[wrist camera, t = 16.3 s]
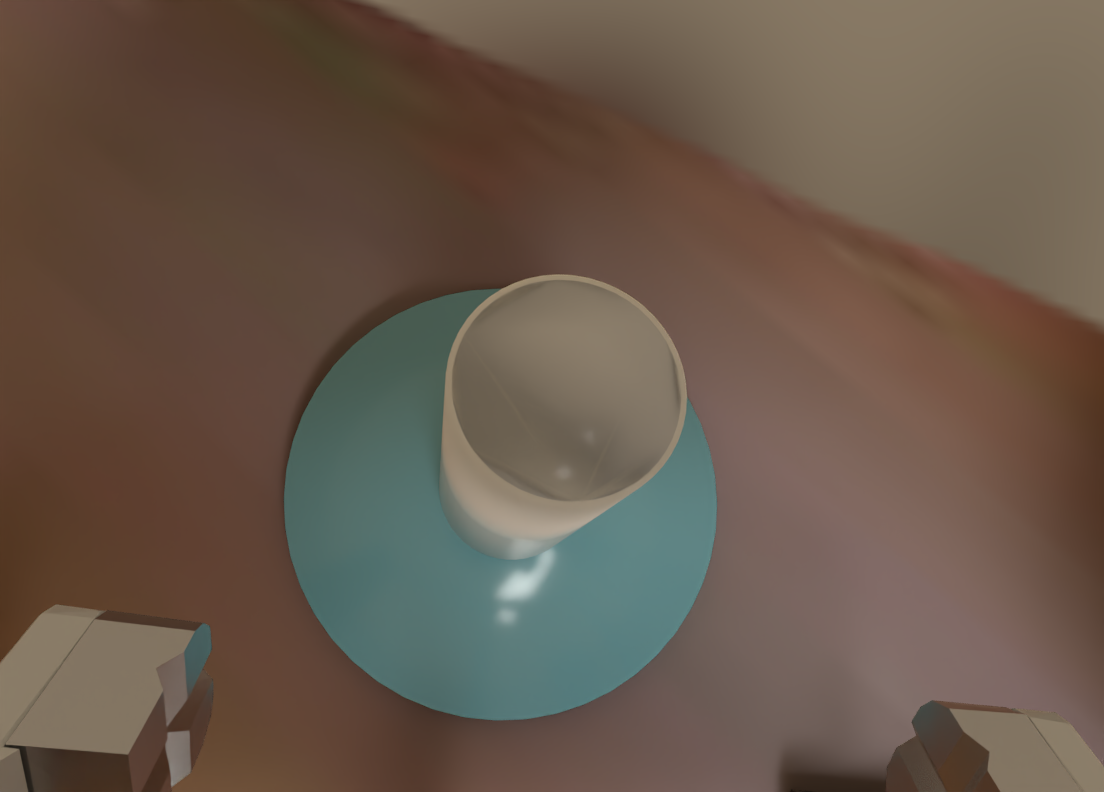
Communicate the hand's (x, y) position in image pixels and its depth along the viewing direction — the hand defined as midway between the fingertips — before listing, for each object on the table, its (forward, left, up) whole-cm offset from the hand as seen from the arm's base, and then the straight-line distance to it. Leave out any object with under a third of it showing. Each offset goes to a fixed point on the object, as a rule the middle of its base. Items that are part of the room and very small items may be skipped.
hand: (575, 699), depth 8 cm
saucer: (-2, -4, -12) cm, 13 cm away
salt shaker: (-2, -4, -11) cm, 12 cm away
